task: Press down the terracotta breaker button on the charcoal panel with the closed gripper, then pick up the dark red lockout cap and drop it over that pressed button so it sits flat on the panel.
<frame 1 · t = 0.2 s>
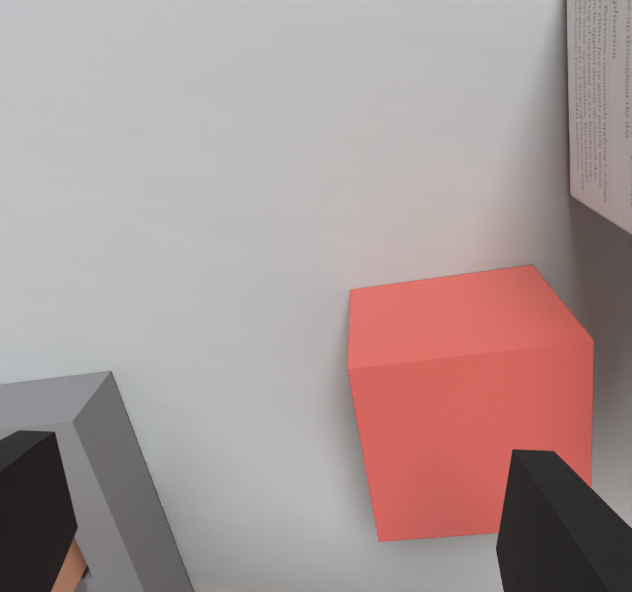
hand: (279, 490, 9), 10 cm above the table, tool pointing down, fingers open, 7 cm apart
lockout cap: (447, 355, 19), on the table
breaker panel: (91, 557, 24), on the table
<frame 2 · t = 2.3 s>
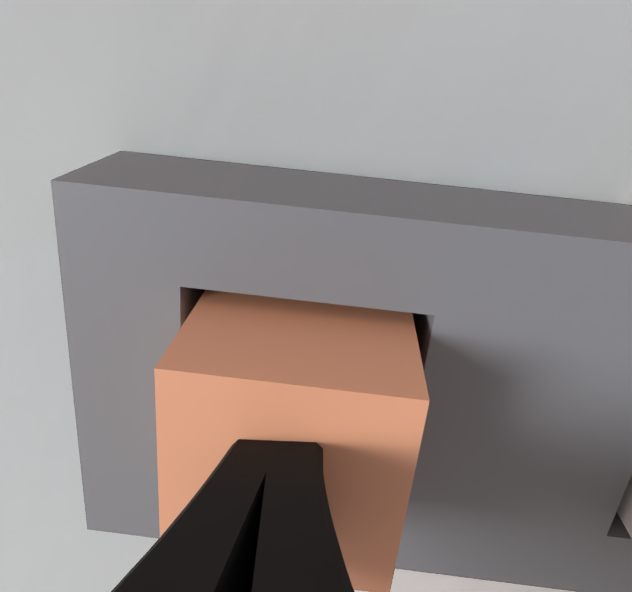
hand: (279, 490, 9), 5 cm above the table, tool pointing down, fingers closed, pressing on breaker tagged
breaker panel: (493, 356, 14), on the table
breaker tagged: (293, 423, 10), point 4 cm above the table, slide at 0.5 cm, touching gripper
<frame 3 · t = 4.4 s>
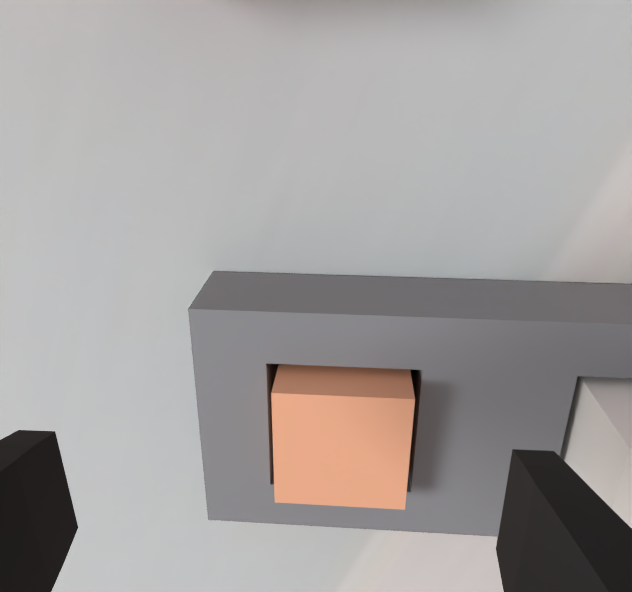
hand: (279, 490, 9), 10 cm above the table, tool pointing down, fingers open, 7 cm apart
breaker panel: (471, 384, 20), on the table
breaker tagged: (342, 417, 18), point 2 cm above the table, slide at 1.7 cm
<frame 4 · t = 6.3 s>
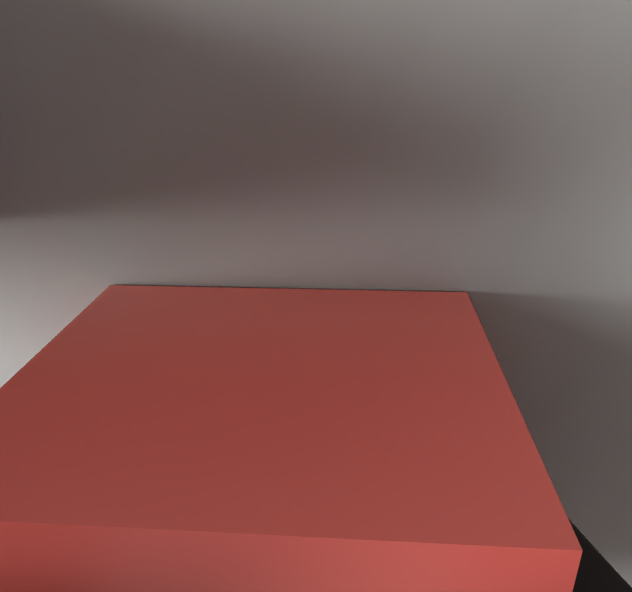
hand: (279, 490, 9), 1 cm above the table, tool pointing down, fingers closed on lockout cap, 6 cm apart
lockout cap: (289, 434, 10), on the table, touching gripper
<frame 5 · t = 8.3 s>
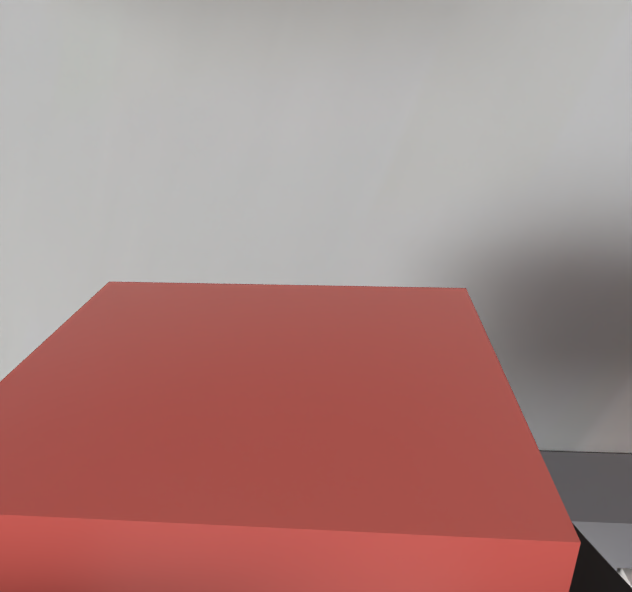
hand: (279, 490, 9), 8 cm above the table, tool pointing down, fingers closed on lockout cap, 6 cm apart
lockout cap: (288, 431, 10), point 7 cm above the table, touching gripper
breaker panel: (505, 540, 20), on the table
when the fingers open (6 cm above the table, at t = 10.2 s): lockout cap drops 1 cm, resting on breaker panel.
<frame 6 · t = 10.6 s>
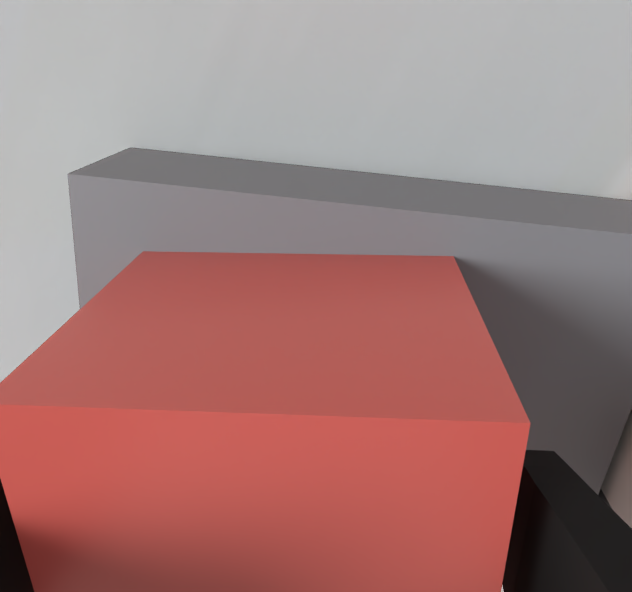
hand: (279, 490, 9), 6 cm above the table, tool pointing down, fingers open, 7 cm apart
lockout cap: (298, 386, 12), point 3 cm above the table, touching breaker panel
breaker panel: (485, 344, 14), on the table
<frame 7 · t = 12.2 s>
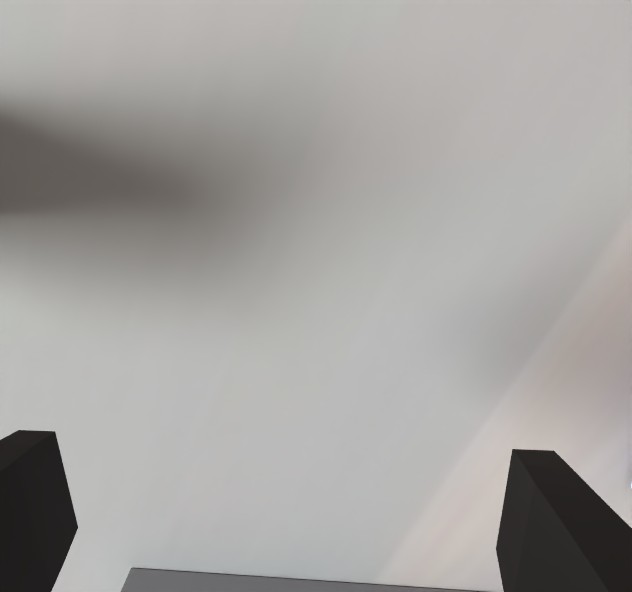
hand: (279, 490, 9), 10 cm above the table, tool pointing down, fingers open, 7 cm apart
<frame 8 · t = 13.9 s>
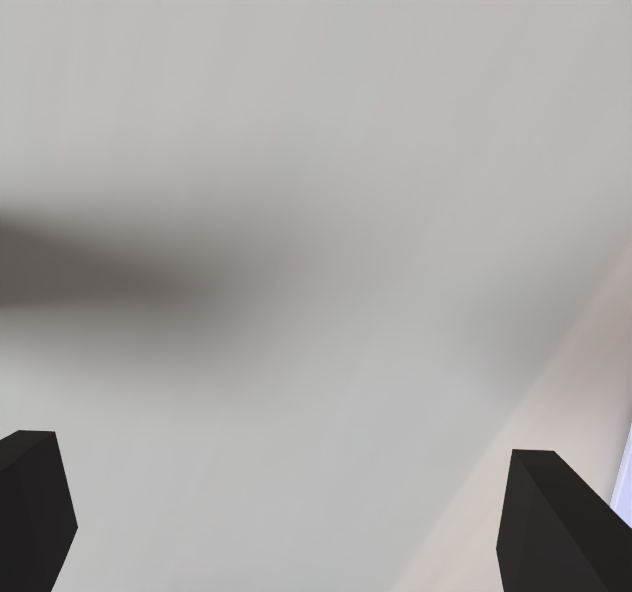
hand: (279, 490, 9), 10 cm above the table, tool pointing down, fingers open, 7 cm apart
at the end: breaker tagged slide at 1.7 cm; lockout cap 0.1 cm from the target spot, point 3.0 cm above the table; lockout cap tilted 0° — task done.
